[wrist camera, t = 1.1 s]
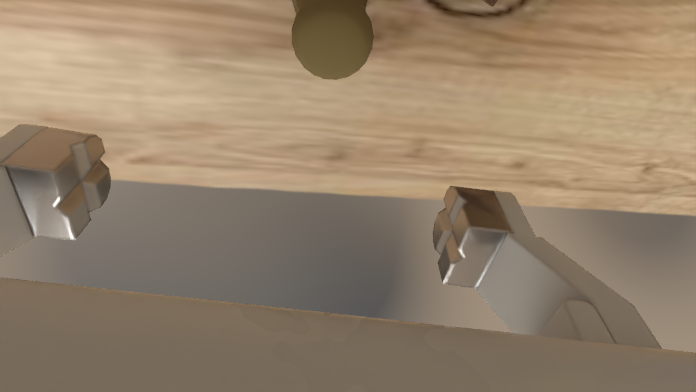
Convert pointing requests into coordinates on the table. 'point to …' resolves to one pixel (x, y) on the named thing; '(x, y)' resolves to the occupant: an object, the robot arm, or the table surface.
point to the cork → (332, 36)
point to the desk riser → (490, 2)
